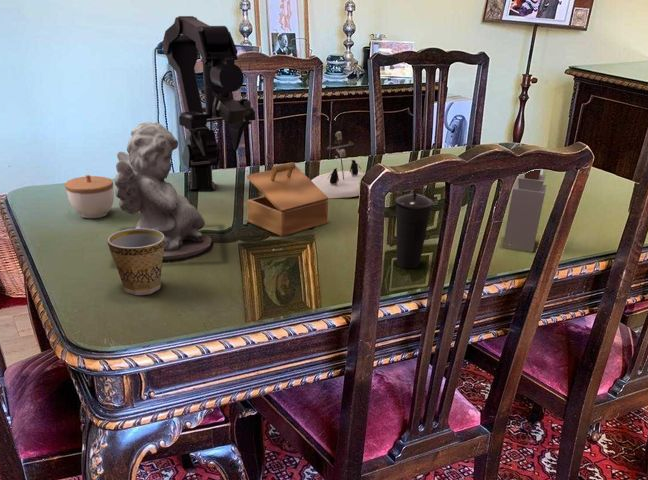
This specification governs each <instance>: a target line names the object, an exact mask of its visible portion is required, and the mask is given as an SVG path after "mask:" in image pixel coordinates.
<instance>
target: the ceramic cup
mask: <svg viewBox="0 0 648 480" xmlns="http://www.w3.org/2000/svg"><path fill="white" fill-rule="evenodd" d="M106 242H107V245H108V248H109V249H108V250H109V252H110V255H111V257H112V259H113V262H114V264H115V266H116V270H117V272H118V275H119V278H120V281H121V284H122V287H123V289H124V291H125V293H127V294H131V295H134V296H146V295H151V294H153V293H155V292H157V291H159V290H160V289H161V283H162V269H163V262H162V259H163V253H164V235H163V233H161V232H159V231H157V230H153V229H146V228H136V227H135V228H127V229H122V230H118V231H116V232H114V233H112V234H110V235H109V236H108V237H107V238H106Z"/></svg>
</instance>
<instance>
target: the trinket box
mask: <svg viewBox="0 0 648 480" xmlns="http://www.w3.org/2000/svg"><path fill="white" fill-rule="evenodd" d="M64 188H65V191H66V196H67V199H68V201H69V204H70V206H71V207H72V209H73V210H74V211H75V212H76V213H78V214H79V215H80V217H82V218H85V219H98V218H99V219H100V218H103V217H105V216H107V215H108V212H109V211H110V210H112V207H113V205H114V201H115V200H114V199H115V192H114V191H115V190H114V181H113V179H111V178H109V177H105V176H98V175H97V176H95V175H90V174H86V175H85V176H79V177H75V178H71V179H69V180H67V181H66V182H65V183H64Z"/></svg>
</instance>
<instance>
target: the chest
mask: <svg viewBox="0 0 648 480" xmlns="http://www.w3.org/2000/svg"><path fill="white" fill-rule="evenodd" d="M246 203H247V223H250V224H251V225H254V226H256V227H259V228H262V229H264V230H267V231H269V232H271V233H273V234H275V235H278V236H280V237H284V236H288V235H291V234H294V233H298V232H301V231H305V230H308V229H311V228H315V227H318V226H322V225H325V224H328V223H329V200H328V201H324V202H320V203H316V204H313V205H309V206H305V207H302V208H298V209H294V210H290V211H287V212H283V213H281V212H280V211H279V210H278V209H277V208H276V207H275V206H274V205H273V204H272V203H271V202H270V201H269V200H268V199H267V198H266V197H265V196H264V195H262V196H259V197H254V198H250V199H247V202H246Z"/></svg>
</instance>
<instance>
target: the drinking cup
mask: <svg viewBox="0 0 648 480" xmlns="http://www.w3.org/2000/svg"><path fill="white" fill-rule="evenodd" d="M394 204H395V207H396V209H395V210H396V211H395V212H396V215H395V216H396V217H395V219H396V220H395V223H396V227H395V228H396V229H395V231H396V232H395V233H396V235H395V236H396V237H395V240H396V244H395V245H396V246H395V247H396V248H395V249H396V251H395V253H396V255H395V256H396V261H395V262H396V265H397V266H398V267H400V268H402V269H416V268H418V267H419V266H420V263H421V259H422V254H423V250H424V249H423V248H424V245H425V241H426V240H425V239H426V234H427V229H428V225H429V220H430V216H431V215H430V214H431V210H432V208H433V206H434V201H433V200H432V199H431V198H429V197H427V196H425V195H423V194H418V188H417V189H414V188H413V192H412V193H407V194H404V195H400V196H398V197H396V198H395V200H394Z"/></svg>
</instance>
